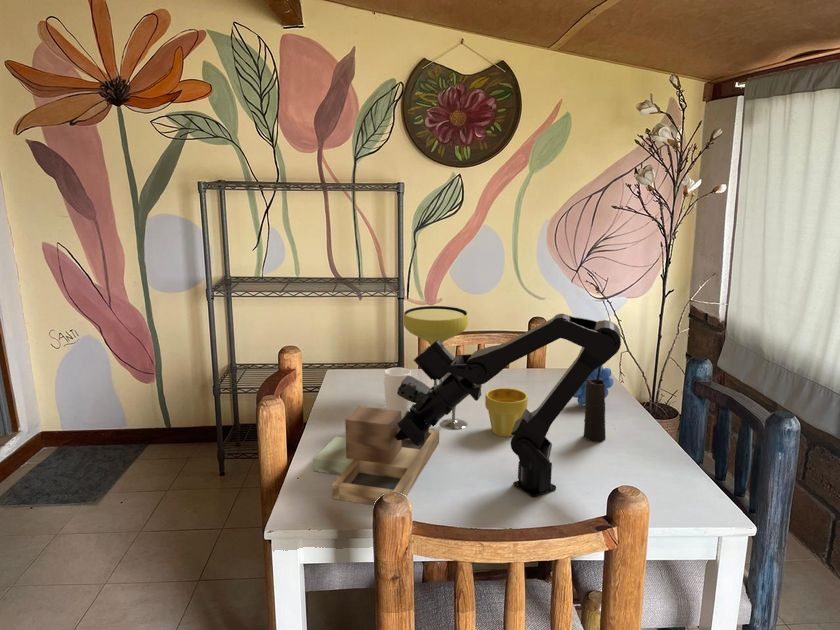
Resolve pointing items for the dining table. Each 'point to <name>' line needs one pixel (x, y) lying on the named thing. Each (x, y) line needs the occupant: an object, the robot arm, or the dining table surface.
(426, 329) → the cocktail glass
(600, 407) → the butter churn
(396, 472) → the tray
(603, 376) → the grapes
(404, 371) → the drinking glass
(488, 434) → the dining table surface
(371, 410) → the walnut block
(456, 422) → the wine glass
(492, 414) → the plant pot
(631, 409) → the dining table surface
